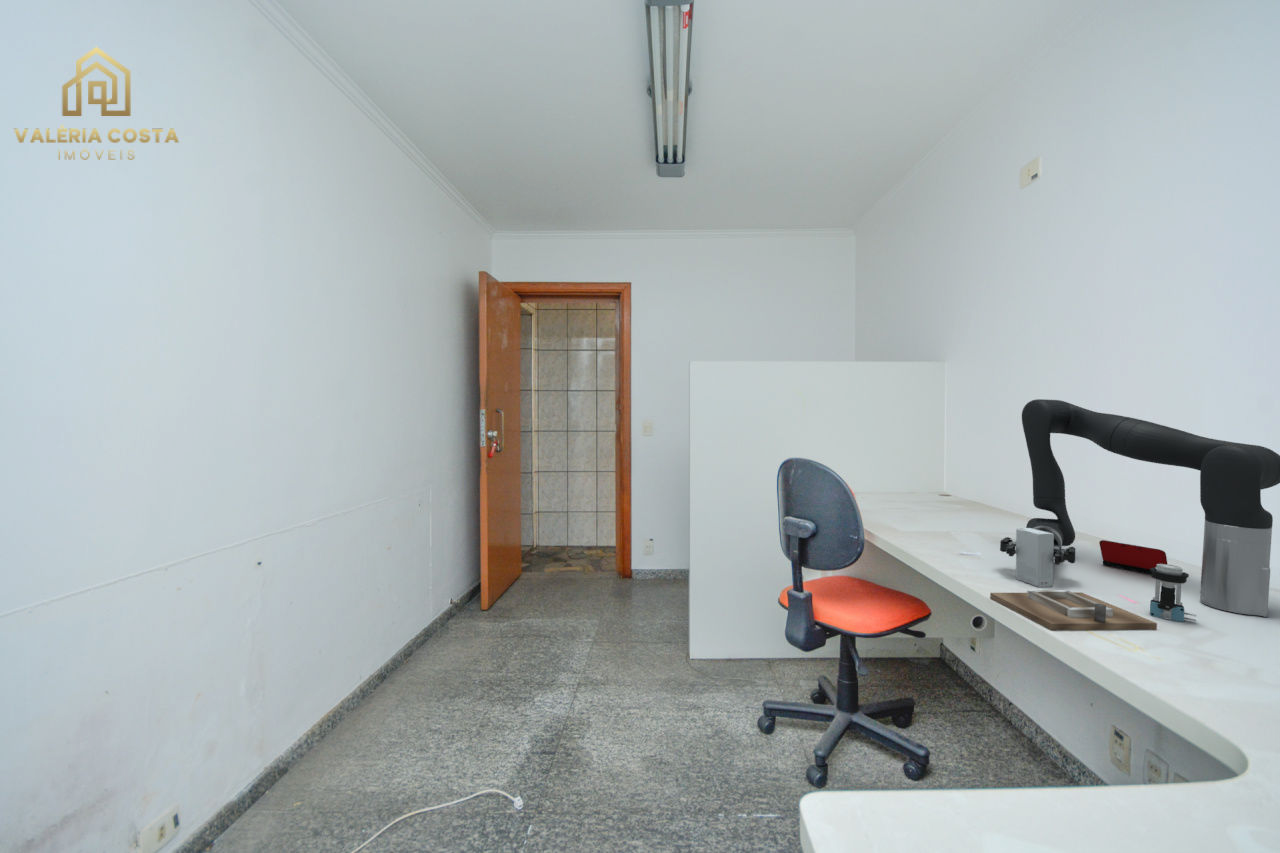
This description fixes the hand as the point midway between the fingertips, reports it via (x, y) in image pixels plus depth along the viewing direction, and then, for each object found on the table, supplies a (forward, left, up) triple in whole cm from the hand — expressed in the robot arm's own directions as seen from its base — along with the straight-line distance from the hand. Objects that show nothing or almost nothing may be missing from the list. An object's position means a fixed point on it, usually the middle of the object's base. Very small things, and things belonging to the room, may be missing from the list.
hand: (1033, 555), depth 123 cm
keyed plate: (-9, +15, -7) cm, 19 cm away
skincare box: (0, -2, -7) cm, 7 cm away
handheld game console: (-15, -34, -7) cm, 38 cm away
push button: (-23, +3, -7) cm, 24 cm away
